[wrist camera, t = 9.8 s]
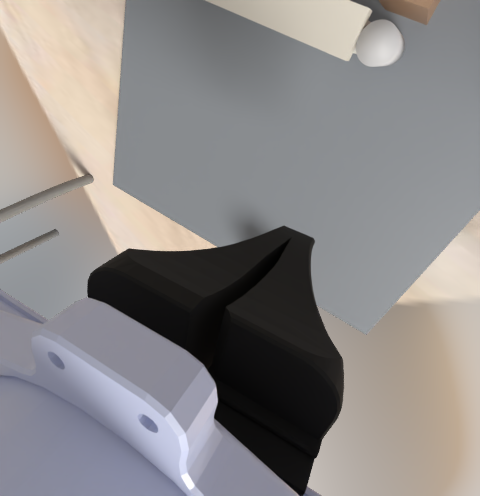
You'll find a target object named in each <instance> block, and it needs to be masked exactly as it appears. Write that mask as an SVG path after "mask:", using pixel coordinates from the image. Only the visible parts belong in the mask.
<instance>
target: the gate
mask: <svg viewBox="0 0 480 496" xmlns="http://www.w3.org/2000/svg"><path fill="white" fill-rule="evenodd" d="M205 1H208V2H210V3H212V4H215V5H217V6H219V7H222V8H224V9H226V10H228V11H231V12H233V13H235V14H238V15H240V16H242V17H245V18H247V19H249V20H252V21H254V22H256V23H259V24H261V25H263V26H266V27H268V28H270V29H273V30H275V31H277V32H280V33H282V34H284V35H287V36H289V37H291V38H294V39H296V40H298V41H301V42H303V43H305V44H308V45H310V46H312V47H315V48H317V49H319V50H321V51H324V52H326V53H328V54H331V55H333V56H335V57H338V58H340V59H342V60H345V61H349V60H350V58H351V56H352V54H353V53H354V54H357V57H358V59H359V60H360V61H361V62H362V63H363V64H364V65H366V66H370V67H379V66H389V65H392V64H394V63H396V62H397V61H398V60H399V59H400V58H401V56H402V55H403V53H404V50H405V40H404V37H403V36H402V34H401V33H400V31H399V30H398V29H397V27H396V26H395V25H394V24H393V23H392V22H391V21H388V20H384V19H380V20H376V21H373V22H370V21H369V17H370V15H371V13H372V10H371V9H370V8H368V7H365V6H363V5H360V4H357V3H355V2H352V1H350V0H205Z"/></svg>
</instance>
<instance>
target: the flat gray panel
mask: <svg viewBox="0 0 480 496" xmlns="http://www.w3.org/2000/svg"><path fill="white" fill-rule="evenodd" d="M350 1H352V2H355V3H357V4H360V5H363V6H365V7H368V8H370V9H371V10H372V13H371V15H370V17H369V21H370V22H373V21H376V20H380V19H384V20H388V21H391V22H392V23H393V24H394V25H395V26H396V27H397V29H398V30H399V31H400V33H401V34H402V36H403V37H404V40H405V50H404V53H403V55H402V56H401V58H400V59H399V60H398V61H397V62H396V63H394V64H392V65H389V66H379V67H370V66H366V65H364V64H363V63H362V62H361V61H360V60H359V59H358V57H357V54H354V53H353V54H352V56H351V58H350V60H349V61H345V60H342V59H340V58H338V57H335V56H333V55H331V54H328V53H326V52H324V51H321V50H319V49H317V48H315V47H312V46H310V45H308V44H305V43H303V42H301V41H298V40H296V39H294V38H291V37H289V36H287V35H284V34H282V33H280V32H277V31H275V30H273V29H270V28H268V27H266V26H263V25H261V24H259V23H256V22H254V21H252V20H249V19H247V18H245V17H242V16H240V15H238V14H235V13H233V12H231V11H228V10H226V9H224V8H222V7H219V6H217V5H215V4H212V3H210V2H208V1H205V0H126V7H125V21H124V35H123V49H122V63H121V78H120V92H119V106H118V120H117V134H116V149H115V163H114V177H113V185H114V186H116V187H117V188H119V189H121V190H123V191H124V192H126V193H128V194H129V195H131V196H133V197H134V198H136V199H138V200H139V201H141V202H143V203H144V204H146V205H148V206H150V207H151V208H153V209H155V210H156V211H158V212H160V213H161V214H163V215H165V216H166V217H168V218H170V219H171V220H173V221H175V222H177V223H178V224H180V225H182V226H183V227H185V228H187V229H188V230H190V231H192V232H193V233H195V234H197V235H198V236H200V237H202V238H204V239H205V240H207V241H209V242H210V243H212V244H214V245H215V246H217V247H222V246H227V245H231V244H235V243H238V242H241V241H244V240H248V239H251V238H253V237H256V236H259V235H261V234H264V233H266V232H269V231H271V230H274V229H276V228H279V227H281V226H286V227H289V228H291V229H293V230H296V231H298V232H301V233H303V234H305V235H308V236H310V237H312V238H314V240H315V244H314V246H313V248H312V253H311V278H312V286H313V292H314V297H315V301H316V304H317V306H318V307H320V308H322V309H324V310H325V311H327V312H328V313H330V314H332V315H333V316H335V317H337V318H339V319H340V320H342V321H344V322H345V323H347V324H349V325H350V326H352V327H354V328H356V329H357V330H359V331H361V332H362V333H364V334H366V335H367V333H368V332H369V331H370V330H371V329H372V328H373V327H374V326H375V324H377V322H378V321H379V320H380V319H381V318H382V317H383V316H384V315H385V314H386V313H387V311H388V310H389V309H390V308H391V307H392V306H393V305H394V304H395V303H396V302H397V301H398V299H399V298H400V297H401V296H402V295H403V294H404V293H405V292H406V291H407V290H408V288H409V287H410V286H411V285H412V284H413V283H414V282H415V281H416V280H417V279H418V277H419V276H420V275H421V274H422V273H423V272H424V271H425V270H426V269H427V268H428V266H429V265H430V264H431V263H432V262H433V261H434V260H435V259H436V258H437V257H438V255H439V254H440V253H441V252H442V251H443V250H444V249H445V248H446V247H447V246H448V244H449V243H450V242H451V241H452V240H453V239H454V238H455V237H456V236H457V235H458V233H459V232H460V231H461V230H462V229H463V228H464V227H465V226H466V225H467V224H468V222H469V221H470V220H471V219H472V218H473V217H474V216H475V215H476V214H477V213H478V211H479V210H480V0H350Z"/></svg>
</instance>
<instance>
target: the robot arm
mask: <svg viewBox="0 0 480 496" xmlns="http://www.w3.org/2000/svg"><path fill="white" fill-rule="evenodd" d="M314 244H315V240H314V238H312V237H310V236H308V235H305V234H303V233H301V232H298V231H296V230H293V229H291V228H289V227H286V226H281V227H279V228H276V229H274V230H271V231H269V232H266V233H264V234H261V235H259V236H256V237H253V238H251V239H248V240H244V241H241V242H238V243H235V244H231V245H227V246H222V247H217V248H211V249H202V250H192V251H150V250H138V249H127V250H126V251H124V252H122V253H121V254H119V255H117V256H116V257H114V258H113V259H111V260H109V261H108V262H106V263H105V264H103V265H102V266H100V267H98V268H97V269H95V270H94V271H93V272H92V273H91V274H90V276H89V279H88V290H87V292H88V298H87V297H86V298H84V299H81V300H78V301H76V302H74V303H73V304H72V305H70V306H69V307H67V308H66V309H64V310H63V311H61V312H60V313H58V314H57V315H56V316H54V317H53V318H51V319H50V320H48V319H46V318H45V317H43V316H41V315H40V314H38V313H36V312H35V311H34V310H32V309H31V308H29V307H27V306H26V305H24V304H23V303H21V302H20V301H18V300H16V299H15V298H13V297H12V296H10V295H9V294H7V293H6V292H4V291H3V290H1V289H0V496H321V495H320V494H318V493H317V492H315V491H314V490H312V489H310V488H309V487H307V484H308V480H309V477H310V473H311V469H312V466H313V462H314V458H316V457H317V455H318V453H319V449H320V446H321V442H322V439H323V437H324V436H325V435H326V433H327V432H328V431H329V429H330V428H331V427H332V425H333V424H334V423H335V421H336V420H337V418H338V416H339V414H340V411H341V408H342V402H343V390H344V370H343V359H342V357H341V356H340V354H339V352H338V351H337V349H336V347H335V346H334V344H333V342H332V341H331V339H330V337H329V336H328V334H327V331H326V329H325V327H324V324H323V322H322V319H321V316H320V314H319V311H318V308H317V304H316V301H315V297H314V292H313V286H312V278H311V253H312V248H313V246H314Z"/></svg>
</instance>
